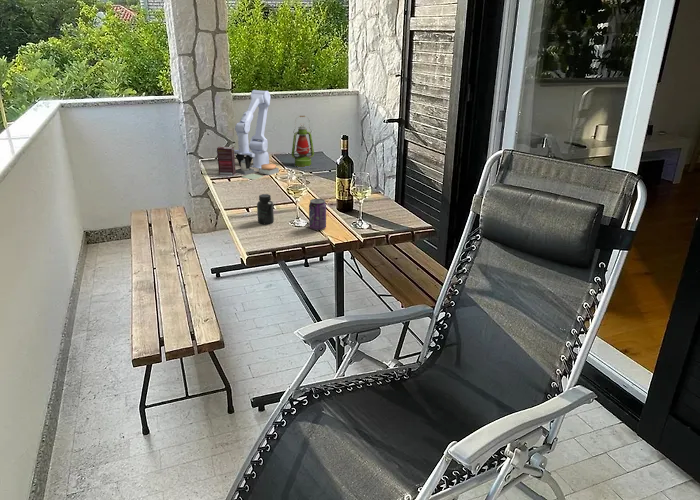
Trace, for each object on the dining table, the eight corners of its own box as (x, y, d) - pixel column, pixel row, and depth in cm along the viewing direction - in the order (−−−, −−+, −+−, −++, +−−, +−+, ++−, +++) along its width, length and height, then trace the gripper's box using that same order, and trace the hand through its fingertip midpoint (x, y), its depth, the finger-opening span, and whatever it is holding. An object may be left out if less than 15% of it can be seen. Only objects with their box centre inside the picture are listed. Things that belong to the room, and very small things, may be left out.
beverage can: (309, 225, 226) (308, 198, 222) (325, 225, 227) (325, 198, 222) (309, 231, 220) (309, 203, 215) (326, 230, 220) (326, 203, 216)
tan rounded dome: (268, 170, 310) (268, 163, 308) (279, 172, 305) (279, 165, 304) (258, 172, 303) (258, 165, 302) (269, 175, 299) (269, 168, 297)
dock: (245, 169, 312) (244, 166, 311) (257, 172, 306) (257, 169, 306) (232, 172, 304) (232, 169, 303) (245, 175, 299) (245, 172, 298)
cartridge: (245, 170, 308) (244, 159, 305) (250, 171, 306) (250, 160, 303) (239, 171, 305) (238, 160, 302) (245, 173, 302) (244, 162, 300)
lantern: (312, 163, 329) (311, 113, 317) (316, 167, 319) (316, 116, 308) (290, 164, 325) (288, 114, 313) (293, 168, 316) (292, 117, 304)
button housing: (268, 170, 310) (268, 165, 308) (278, 173, 305) (278, 167, 304) (259, 173, 303) (258, 168, 302) (269, 175, 299) (269, 170, 298)
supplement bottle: (264, 218, 233) (263, 192, 228) (277, 221, 230) (276, 195, 225) (254, 223, 228) (253, 196, 223) (267, 226, 224) (266, 199, 220)
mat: (252, 174, 301) (252, 173, 301) (264, 177, 297) (264, 176, 297) (241, 177, 295) (241, 176, 294) (253, 180, 290) (253, 179, 290)
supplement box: (236, 174, 300) (234, 146, 294) (233, 176, 296) (231, 148, 290) (221, 174, 301) (219, 146, 295) (218, 176, 297) (216, 147, 290)
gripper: (229, 143, 300) (230, 167, 305) (247, 147, 292) (249, 171, 297) (238, 141, 305) (239, 164, 310) (256, 144, 297) (257, 168, 303)
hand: (244, 167), depth 304 cm, fingers closed on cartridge, 4 cm apart
